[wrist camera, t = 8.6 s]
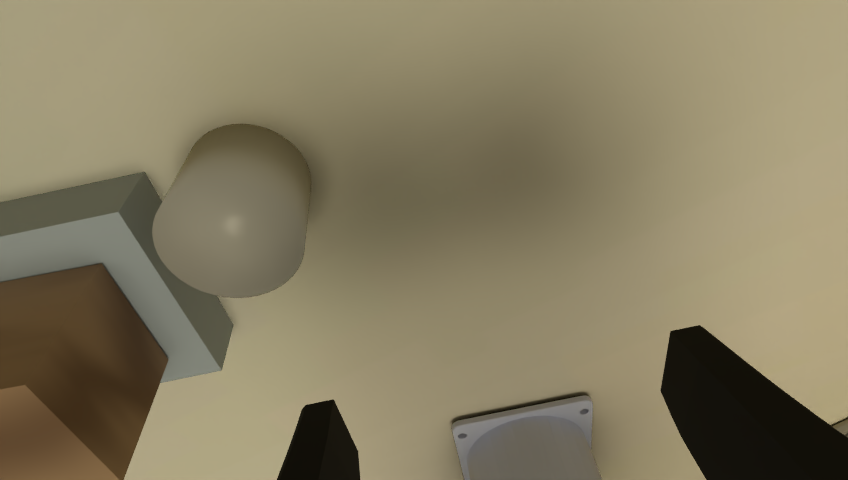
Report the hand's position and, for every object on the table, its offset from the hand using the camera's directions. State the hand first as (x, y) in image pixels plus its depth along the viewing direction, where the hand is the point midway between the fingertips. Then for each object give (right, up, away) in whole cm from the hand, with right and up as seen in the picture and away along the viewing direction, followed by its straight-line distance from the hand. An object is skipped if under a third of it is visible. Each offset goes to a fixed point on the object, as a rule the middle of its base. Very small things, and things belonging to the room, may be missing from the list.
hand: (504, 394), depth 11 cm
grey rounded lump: (-8, +6, +8) cm, 13 cm away
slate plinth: (-15, +2, +10) cm, 18 cm away
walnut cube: (-15, 0, +8) cm, 16 cm away
